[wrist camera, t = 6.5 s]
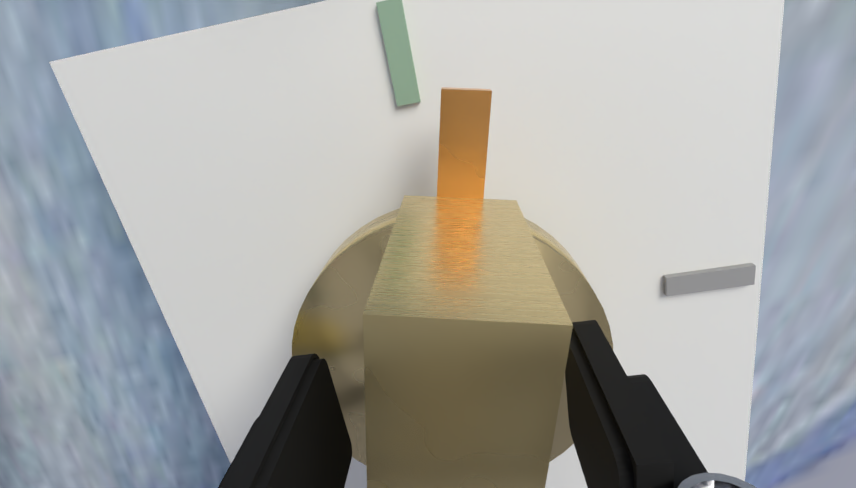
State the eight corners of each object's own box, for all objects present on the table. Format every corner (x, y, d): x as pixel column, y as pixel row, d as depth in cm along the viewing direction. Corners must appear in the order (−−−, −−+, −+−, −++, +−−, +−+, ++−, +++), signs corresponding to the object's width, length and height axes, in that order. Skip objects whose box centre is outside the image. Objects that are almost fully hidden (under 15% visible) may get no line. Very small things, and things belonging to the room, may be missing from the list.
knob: (562, 441, 15) (653, 755, 9) (325, 427, 16) (226, 719, 9) (627, 89, 11) (908, 138, 4) (302, 77, 12) (78, 106, 5)
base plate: (289, 476, 21) (263, 544, 18) (124, 61, 15) (42, 62, 12) (701, 434, 19) (746, 502, 16) (718, -69, 13) (799, -107, 10)
